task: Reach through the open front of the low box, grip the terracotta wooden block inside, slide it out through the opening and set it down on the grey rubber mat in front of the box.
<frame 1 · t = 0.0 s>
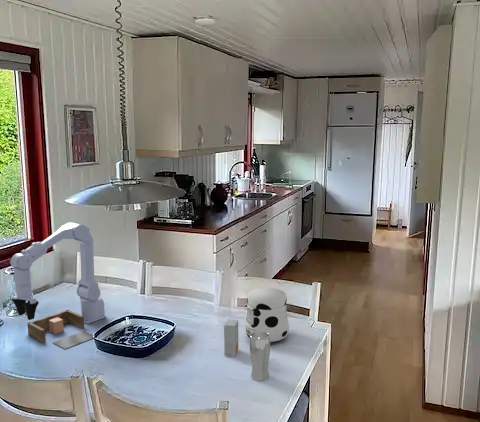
hand: (26, 316, 193), 10 cm above the table, tool pointing down, fingers open, 7 cm apart
skincare box: (231, 353, 182), on the table
terracotta block: (56, 331, 204), on the table
milk container: (267, 337, 195), on the table
open box: (56, 330, 204), on the table
beer glass: (260, 377, 164), on the table
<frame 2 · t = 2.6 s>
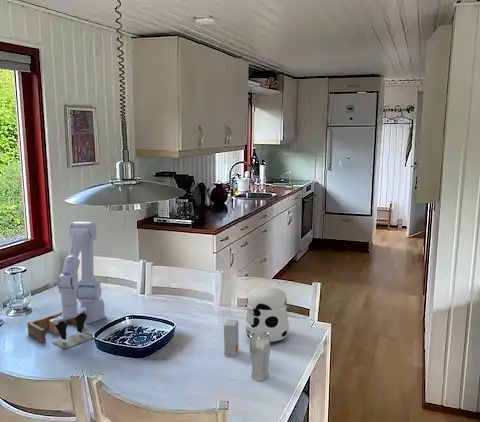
hand: (71, 335, 196), 1 cm above the table, tool pointing down, fingers open, 7 cm apart
nothing on the table moved.
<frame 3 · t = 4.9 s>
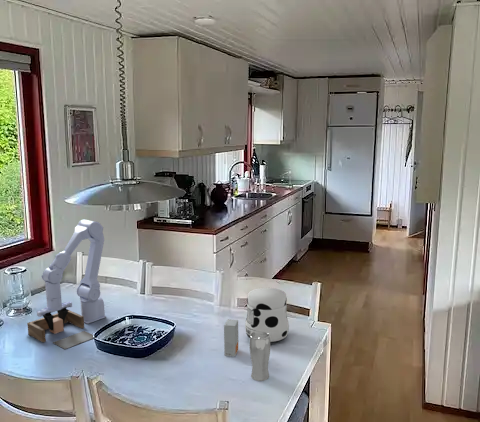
hand: (56, 327, 203), 1 cm above the table, tool pointing down, fingers closed on terracotta block, 4 cm apart
terracotta block: (56, 331, 204), on the table, touching gripper
everything else where it was.
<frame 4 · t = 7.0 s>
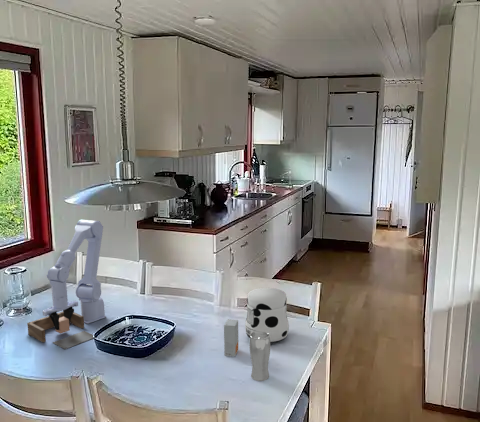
hand: (62, 327, 200), 3 cm above the table, tool pointing down, fingers closed on terracotta block, 4 cm apart
terracotta block: (62, 330, 200), point 1 cm above the table, touching gripper
everything else where it was.
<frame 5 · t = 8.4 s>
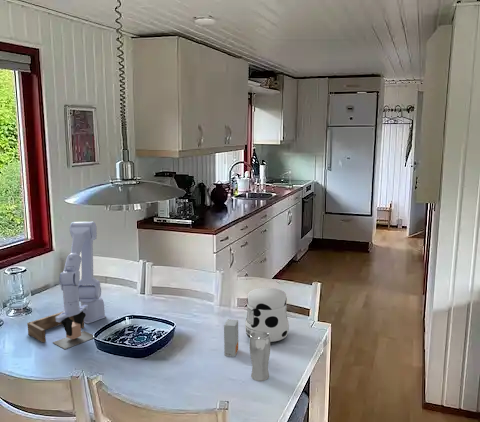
hand: (73, 333, 194), 3 cm above the table, tool pointing down, fingers closed on terracotta block, 4 cm apart
terracotta block: (73, 336, 195), point 1 cm above the table, touching gripper
everything else where it was.
when the fingers open (2 cm above the table, at t = 9.4 s): terracotta block stays where it is, resting on open box.
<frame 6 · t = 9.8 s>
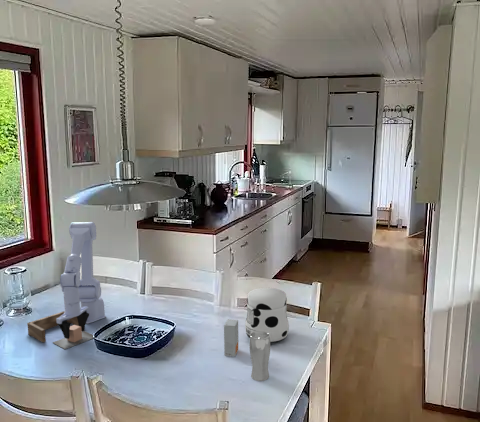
hand: (74, 334, 194), 2 cm above the table, tool pointing down, fingers open, 7 cm apart
terracotta block: (74, 339, 195), resting on open box
everything else where it was.
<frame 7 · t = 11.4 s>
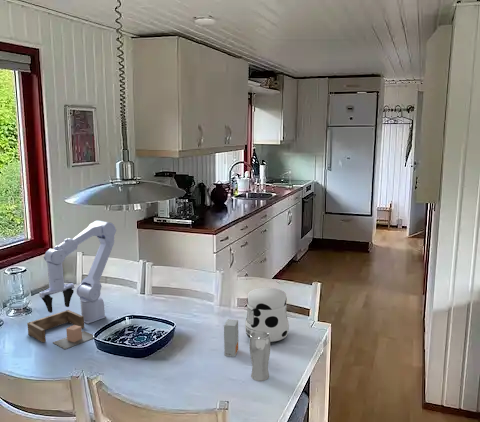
hand: (58, 309, 203), 9 cm above the table, tool pointing down, fingers open, 7 cm apart
nothing on the table moved.
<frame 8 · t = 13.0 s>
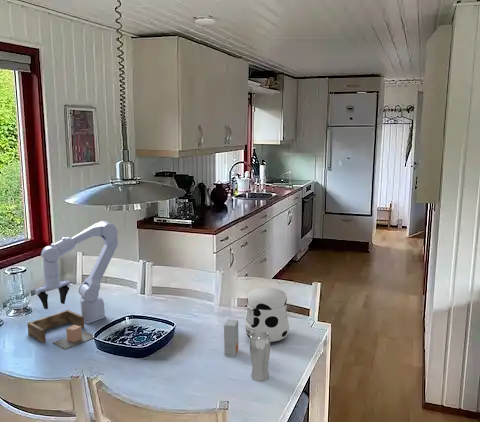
hand: (54, 306, 206), 9 cm above the table, tool pointing down, fingers open, 7 cm apart
nothing on the table moved.
at the end: terracotta block inside the target area on the open box (0.6 cm from its centre), point 0.3 cm above the open box's base; terracotta block tilted 0°; the gripper is holding nothing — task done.
